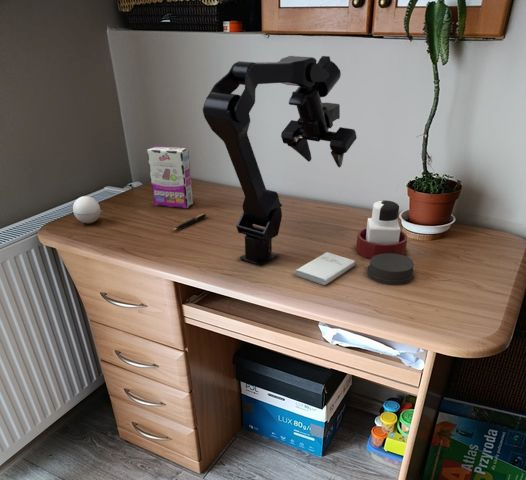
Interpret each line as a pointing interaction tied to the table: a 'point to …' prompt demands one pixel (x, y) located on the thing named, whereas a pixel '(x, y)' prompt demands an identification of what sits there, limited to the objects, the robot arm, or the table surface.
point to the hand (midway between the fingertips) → (324, 163)
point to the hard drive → (325, 268)
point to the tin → (379, 246)
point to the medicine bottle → (383, 223)
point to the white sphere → (86, 209)
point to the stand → (391, 269)
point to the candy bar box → (170, 176)
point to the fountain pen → (191, 221)
